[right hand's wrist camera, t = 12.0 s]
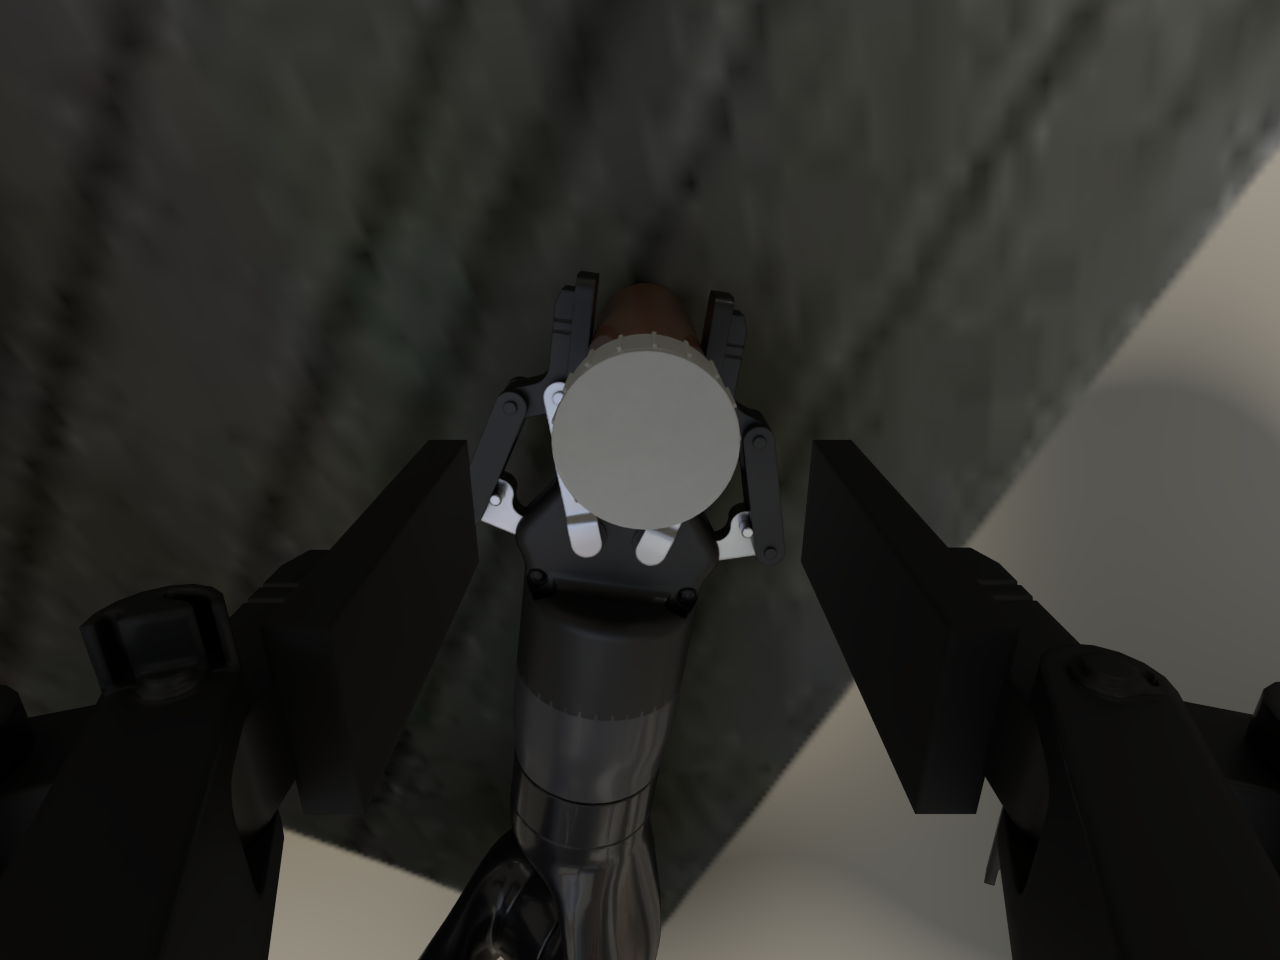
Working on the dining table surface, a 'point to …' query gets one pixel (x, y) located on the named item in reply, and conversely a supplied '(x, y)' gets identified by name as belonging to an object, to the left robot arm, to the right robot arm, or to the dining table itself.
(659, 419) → the lid
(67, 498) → the dining table surface
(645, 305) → the brown piece
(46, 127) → the dining table surface
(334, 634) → the right robot arm
